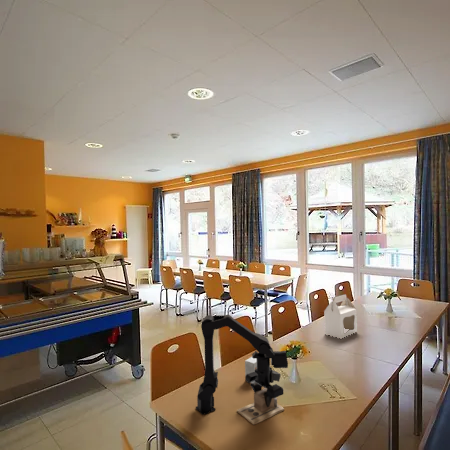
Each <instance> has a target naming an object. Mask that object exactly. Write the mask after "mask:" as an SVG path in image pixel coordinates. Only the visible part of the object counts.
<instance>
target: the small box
mask: <svg viewBox="0 0 450 450" xmlns="http://www.w3.org/2000/svg"><path fill="white" fill-rule="evenodd" d="M244 369H245V370H244V373H245V375H244V376H245V377H246V375H247V374H249V373H252V372H255V369H257V358H252V356H250V357H249V358H248V359H245V360H244ZM245 377H244V378H245ZM249 384H251V382H250V383H249Z"/></svg>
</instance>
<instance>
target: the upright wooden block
mask: <svg viewBox="0 0 450 450" xmlns="http://www.w3.org/2000/svg"><path fill="white" fill-rule="evenodd" d="M265 392H267V388H263V389H262V390H260V391H257V392H255V393H254V392H253V403H254V407H255V408H256V409H258V410H259V411H261V412H264V411H266V410H268V409H270V408H273V407H274V398H272V400H271V403H270V406H269V407H267V406H266V402H265V398H264V394H263V393H265Z"/></svg>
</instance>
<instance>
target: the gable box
mask: <svg viewBox="0 0 450 450" xmlns="http://www.w3.org/2000/svg"><path fill="white" fill-rule="evenodd" d="M331 300H332V301H330V303H329V304H328V305H327V306H326V308H325V309H324V310H323V312H324V314H323V315H324V335H325V334H326V336H328V335H330V336H329V337H332V336H333V337H332V338H335V337H337V338H336V339H339V338H340V340H343V339H345V338H347V337H349V336H348V335H350V336H352V335H353V333H354V334H356V333H355V332H357V331H358V329H357V308H356V307H355V305H354V304H353V303H352V301H351V300H350V299H349V297H347V294H340V295H337V296H334V297H333V298H332V297H331ZM338 303H340V305H338ZM344 328H345V329H349V330H348V331H347V332H346V333H344ZM357 333H358V332H357ZM351 334H352V335H351ZM346 336H347V337H346ZM344 337H345V338H344ZM342 338H343V339H342Z"/></svg>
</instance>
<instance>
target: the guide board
mask: <svg viewBox="0 0 450 450" xmlns="http://www.w3.org/2000/svg"><path fill="white" fill-rule="evenodd" d="M283 411H285V408H284V407H283V406H282V405H280V404H278V397H276V398H274V407H273V408H270V409H268V410H266V411H264V412H261V411H259V410H258V409H256V408H255V407H254V402H253V403H250V404H248V405H247V404H246V405H245V406H243V407H240V408H238V409H236V412H237V413H238V414H239V415H241V416H242V417H243V418H245V419H246V420H247V421H248V422H249V423H251V424H252V425H253V426H254V425H257V424H258V423H261V422H263V421H265V420H267V419H269V418H271V417H273V416H275V415H277V414H279V413H281V412H283Z"/></svg>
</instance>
